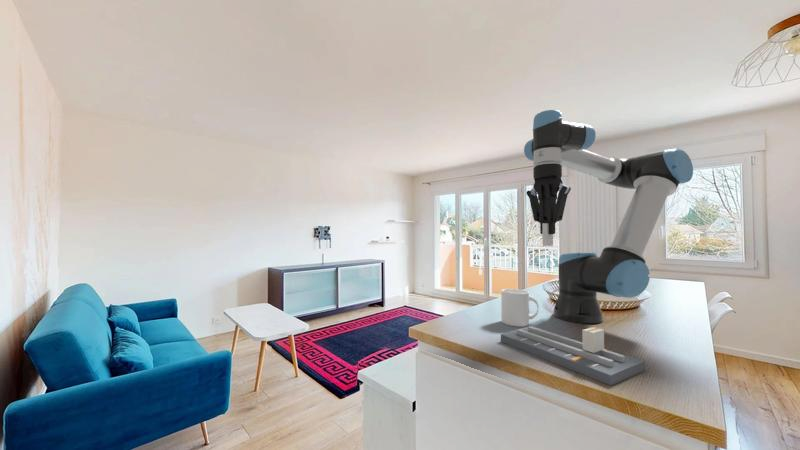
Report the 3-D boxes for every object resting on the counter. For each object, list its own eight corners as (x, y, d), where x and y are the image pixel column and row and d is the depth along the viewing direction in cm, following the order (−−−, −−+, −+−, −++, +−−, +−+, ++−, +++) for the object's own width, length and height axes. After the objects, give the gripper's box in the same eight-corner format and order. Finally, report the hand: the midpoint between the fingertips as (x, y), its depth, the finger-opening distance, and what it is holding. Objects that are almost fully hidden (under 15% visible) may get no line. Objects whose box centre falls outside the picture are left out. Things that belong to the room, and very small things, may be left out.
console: (533, 333, 92) (533, 322, 92) (644, 370, 68) (644, 355, 68) (500, 341, 85) (500, 329, 85) (610, 385, 61) (610, 369, 61)
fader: (593, 351, 72) (593, 326, 73) (604, 354, 70) (604, 329, 71) (582, 354, 70) (582, 329, 70) (593, 358, 68) (593, 332, 68)
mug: (544, 327, 98) (543, 293, 98) (505, 327, 98) (505, 293, 98) (533, 320, 106) (533, 289, 106) (498, 319, 107) (498, 288, 107)
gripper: (520, 167, 94) (520, 245, 93) (560, 159, 83) (561, 246, 82) (536, 170, 98) (536, 244, 97) (576, 162, 86) (577, 246, 86)
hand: (547, 245), depth 90 cm, fingers closed
